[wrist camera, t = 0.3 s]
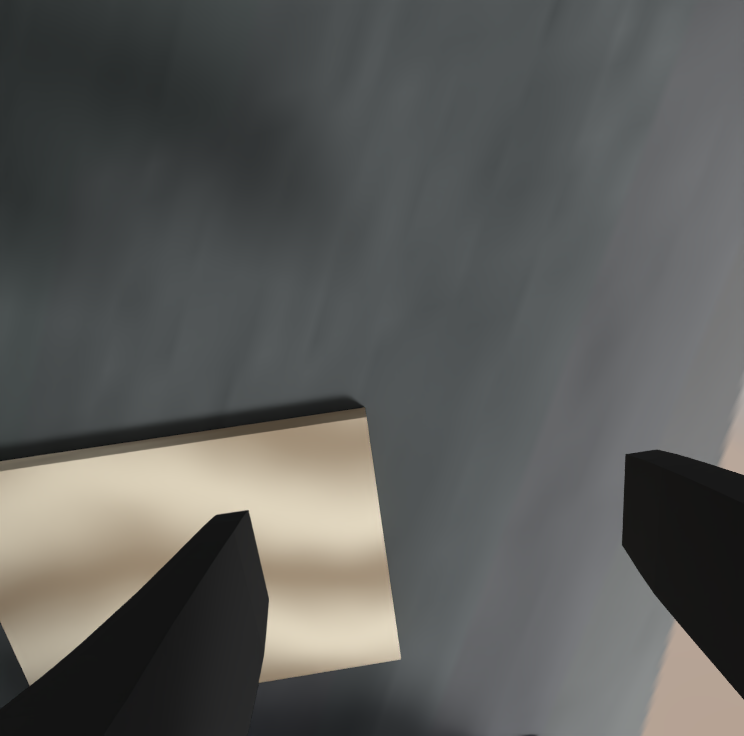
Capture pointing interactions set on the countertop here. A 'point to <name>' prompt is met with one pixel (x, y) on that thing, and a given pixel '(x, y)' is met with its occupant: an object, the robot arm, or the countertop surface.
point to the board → (185, 518)
